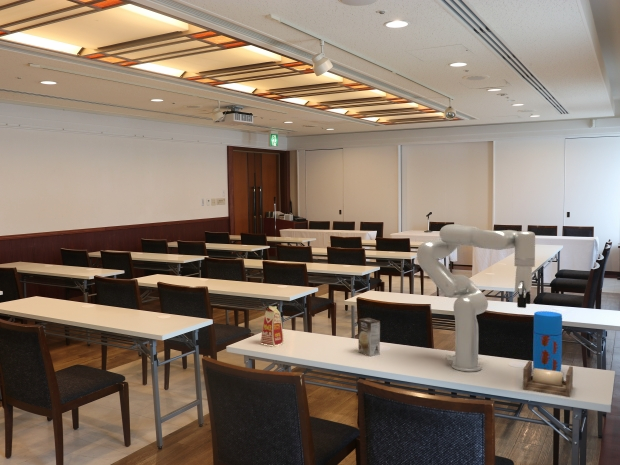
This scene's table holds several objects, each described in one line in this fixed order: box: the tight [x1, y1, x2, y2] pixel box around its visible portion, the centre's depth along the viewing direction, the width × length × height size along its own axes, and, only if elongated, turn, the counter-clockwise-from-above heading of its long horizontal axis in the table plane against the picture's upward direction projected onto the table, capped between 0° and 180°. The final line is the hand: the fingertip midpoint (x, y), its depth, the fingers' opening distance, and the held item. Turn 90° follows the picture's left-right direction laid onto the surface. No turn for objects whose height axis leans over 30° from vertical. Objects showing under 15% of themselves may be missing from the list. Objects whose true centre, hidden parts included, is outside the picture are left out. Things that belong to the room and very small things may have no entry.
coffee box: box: [357, 317, 381, 357], centre depth 261 cm, size 9×6×16 cm
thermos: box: [532, 310, 563, 372], centre depth 230 cm, size 11×11×25 cm
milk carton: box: [260, 305, 284, 346], centre depth 280 cm, size 9×9×20 cm
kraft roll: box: [532, 368, 565, 387], centre depth 211 cm, size 11×6×6 cm, turn 60°
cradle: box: [522, 360, 574, 398], centre depth 211 cm, size 16×12×8 cm
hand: (523, 305), depth 219 cm, fingers open, 9 cm apart
